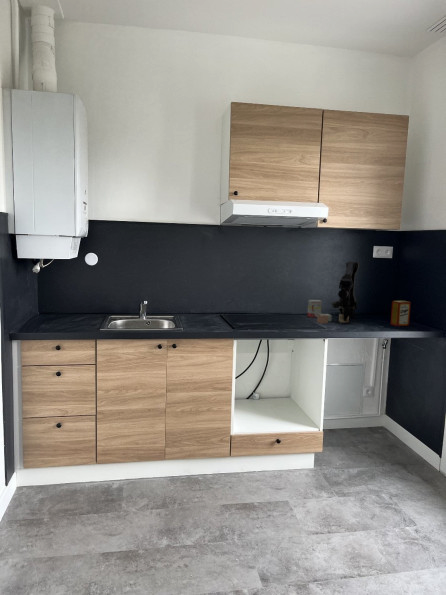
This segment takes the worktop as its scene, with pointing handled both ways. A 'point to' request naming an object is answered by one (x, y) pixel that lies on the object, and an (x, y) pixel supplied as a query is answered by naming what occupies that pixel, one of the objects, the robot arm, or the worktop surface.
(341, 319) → the maple cube
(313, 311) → the ink box
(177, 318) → the worktop surface
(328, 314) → the sage block
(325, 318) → the terracotta cube
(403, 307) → the baking soda box
